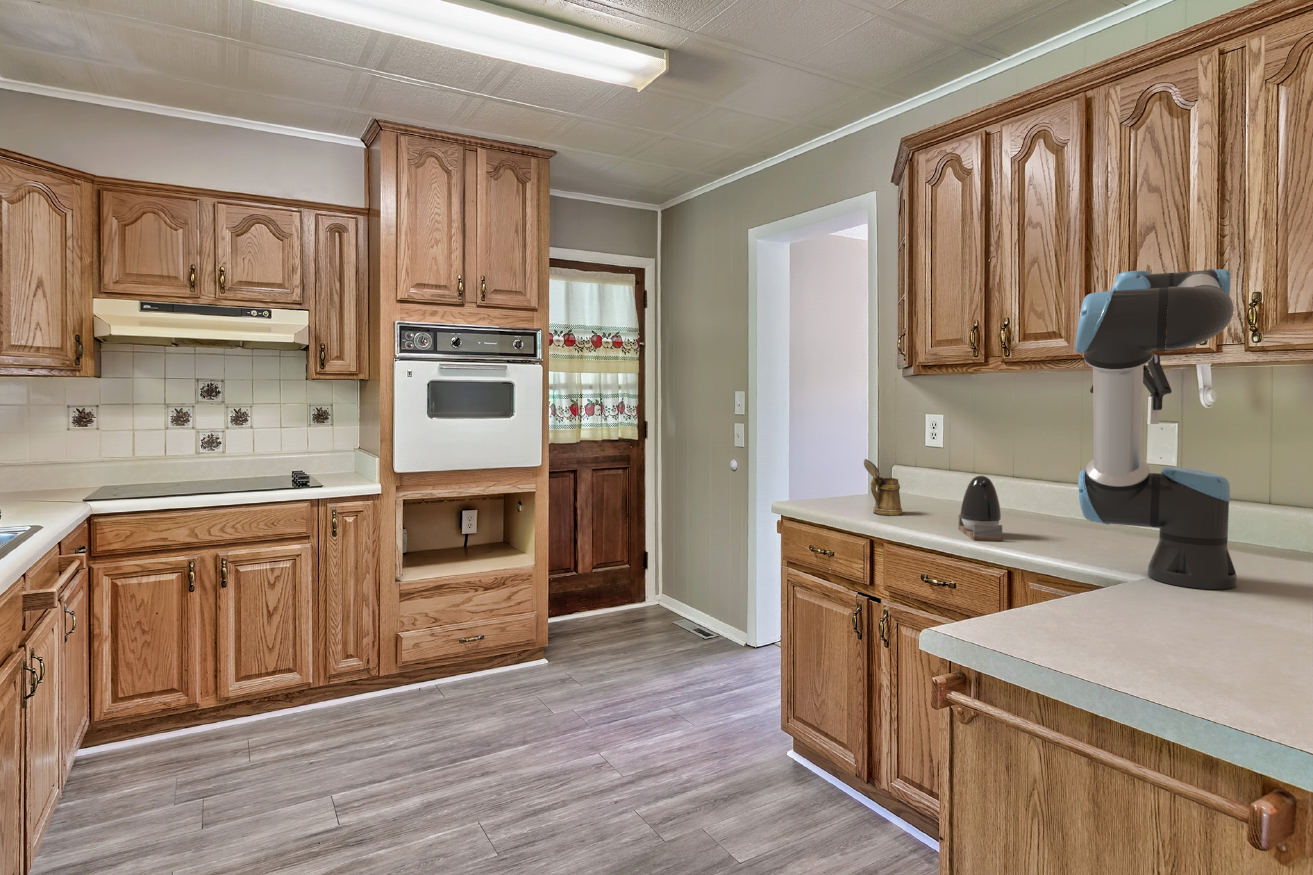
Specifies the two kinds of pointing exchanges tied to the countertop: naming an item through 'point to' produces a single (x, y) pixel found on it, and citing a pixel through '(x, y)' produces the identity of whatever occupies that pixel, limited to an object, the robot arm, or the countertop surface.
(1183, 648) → the countertop surface
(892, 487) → the wooden mug
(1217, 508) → the robot arm
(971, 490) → the black egg roly-poly
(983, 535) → the walnut riser
